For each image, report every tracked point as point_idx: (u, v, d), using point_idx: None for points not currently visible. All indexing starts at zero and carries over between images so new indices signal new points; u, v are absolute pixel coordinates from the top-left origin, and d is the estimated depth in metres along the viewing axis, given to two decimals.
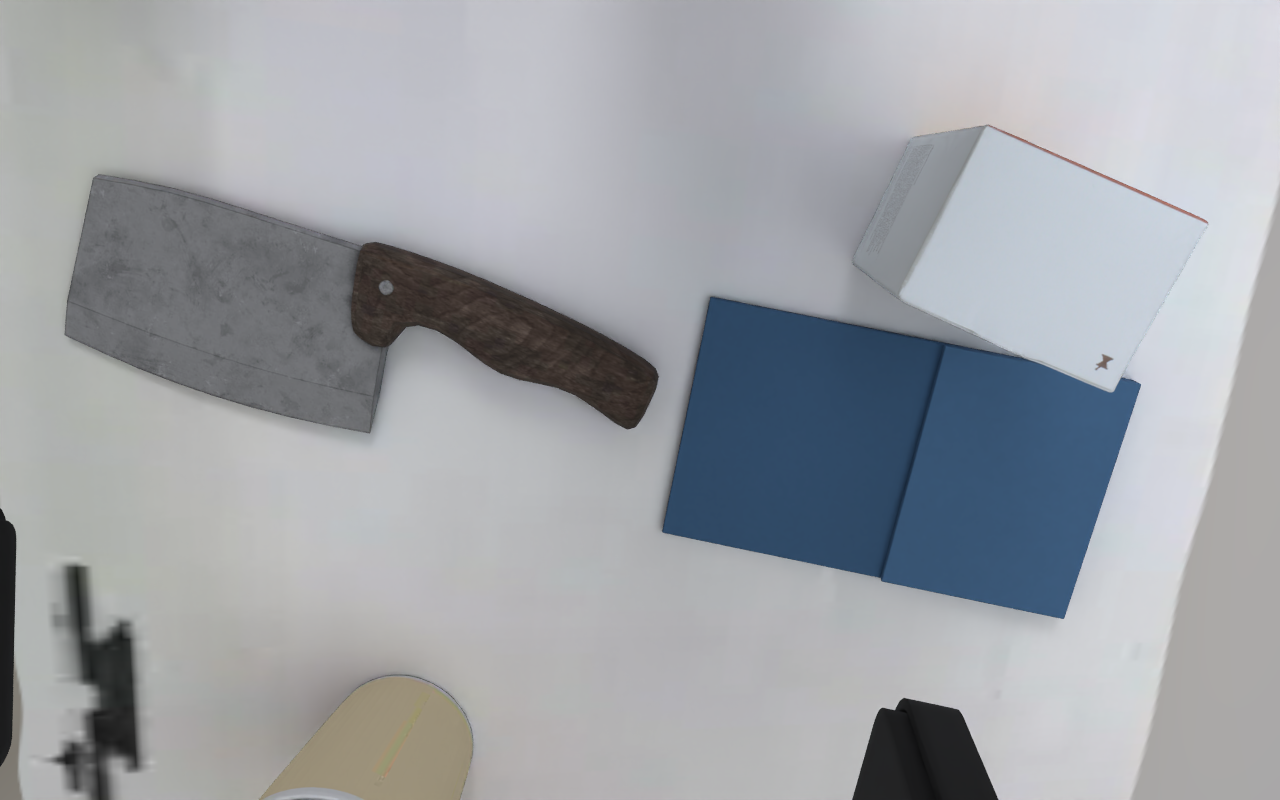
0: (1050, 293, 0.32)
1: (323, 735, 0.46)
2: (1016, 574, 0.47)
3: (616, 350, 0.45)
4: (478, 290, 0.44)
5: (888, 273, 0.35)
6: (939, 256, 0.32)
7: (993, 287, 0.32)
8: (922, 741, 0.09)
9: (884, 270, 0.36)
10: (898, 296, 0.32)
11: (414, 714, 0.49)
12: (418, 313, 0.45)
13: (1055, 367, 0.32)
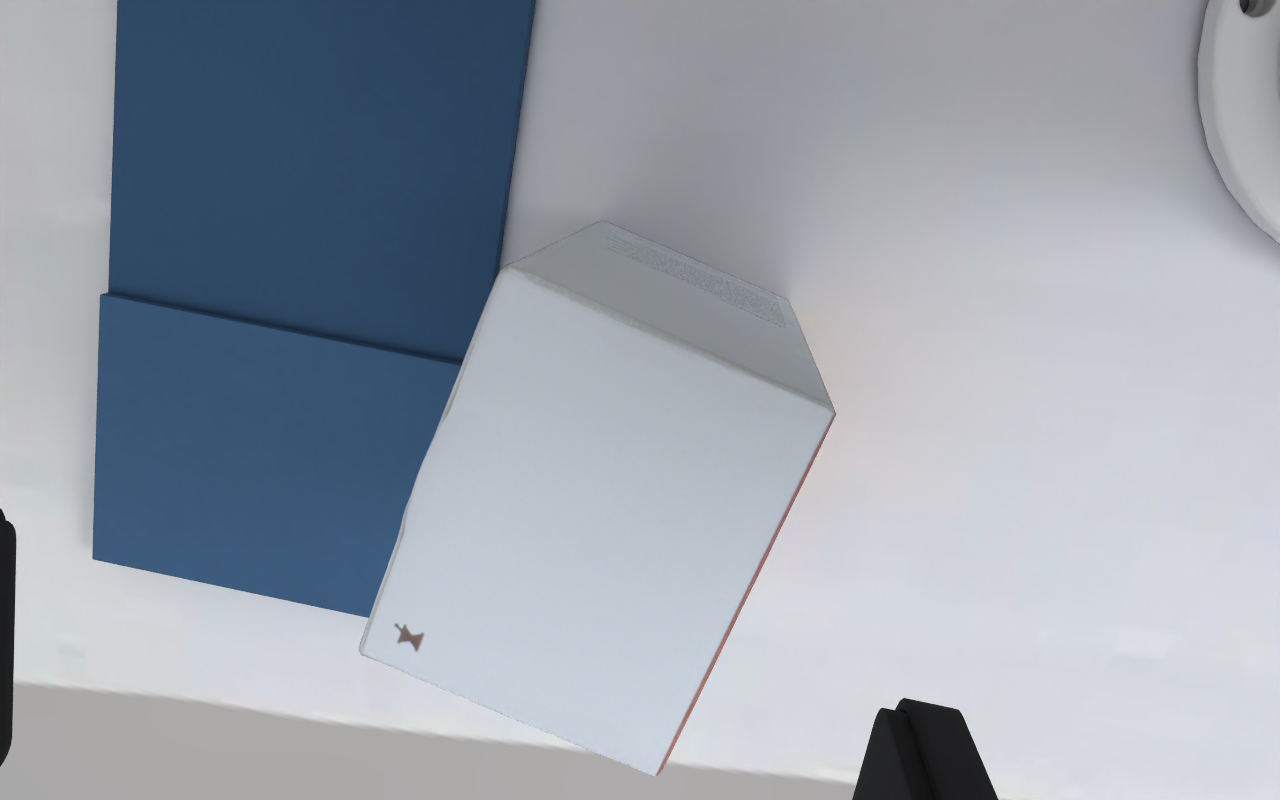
0: (525, 541, 0.17)
1: None
2: (146, 491, 0.31)
3: None
4: None
5: (563, 256, 0.19)
6: (586, 340, 0.16)
7: (532, 443, 0.17)
8: (922, 741, 0.09)
9: (571, 252, 0.20)
10: (506, 267, 0.16)
11: None
12: None
13: (393, 558, 0.18)
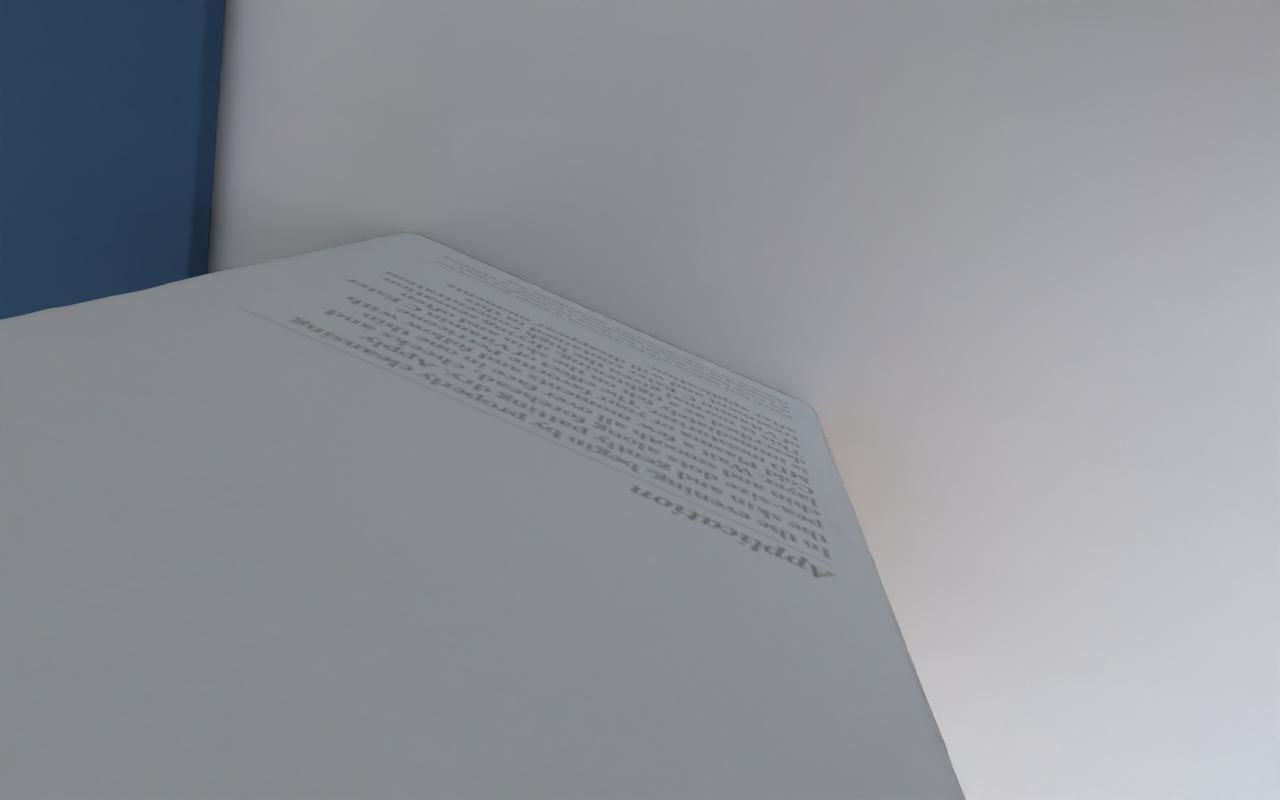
0: None
1: None
2: None
3: None
4: None
5: None
6: None
7: None
8: None
9: None
10: None
11: None
12: None
13: None
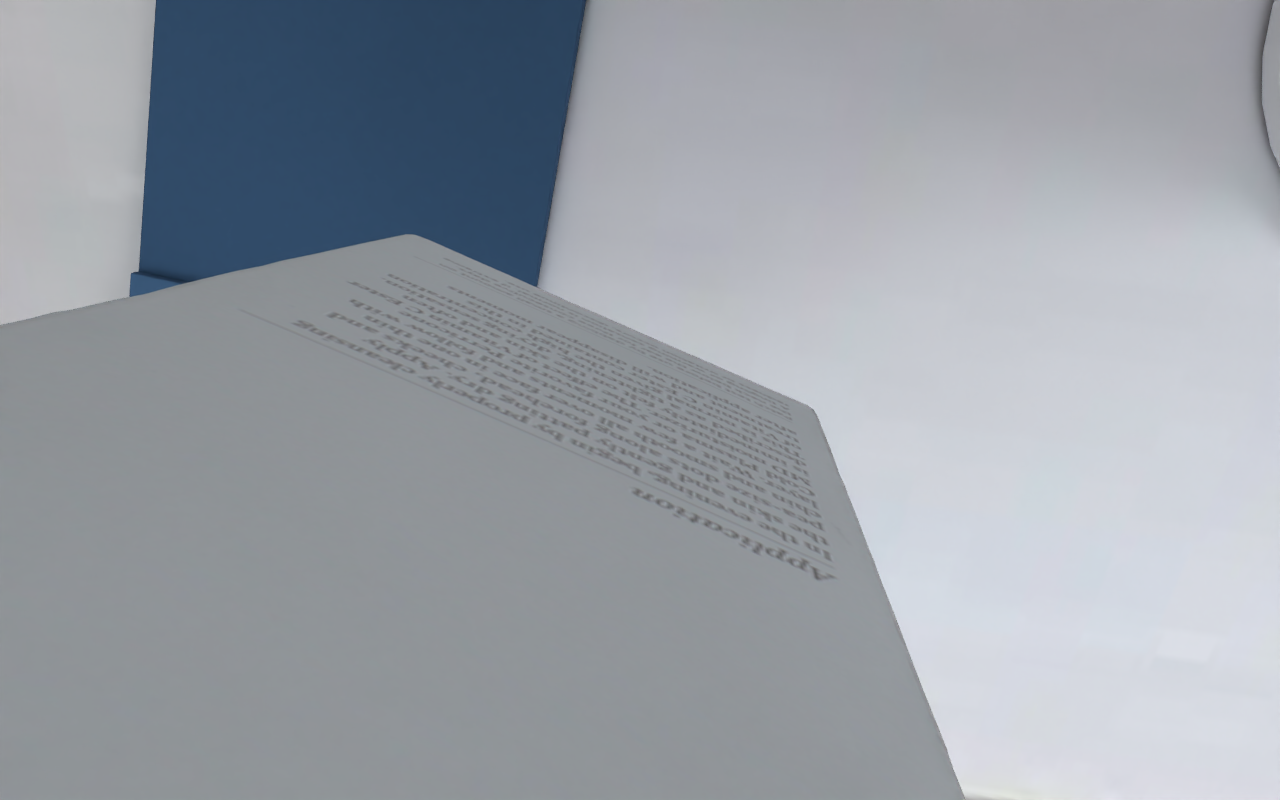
0: None
1: None
2: None
3: None
4: None
5: None
6: None
7: None
8: None
9: None
10: None
11: None
12: None
13: None
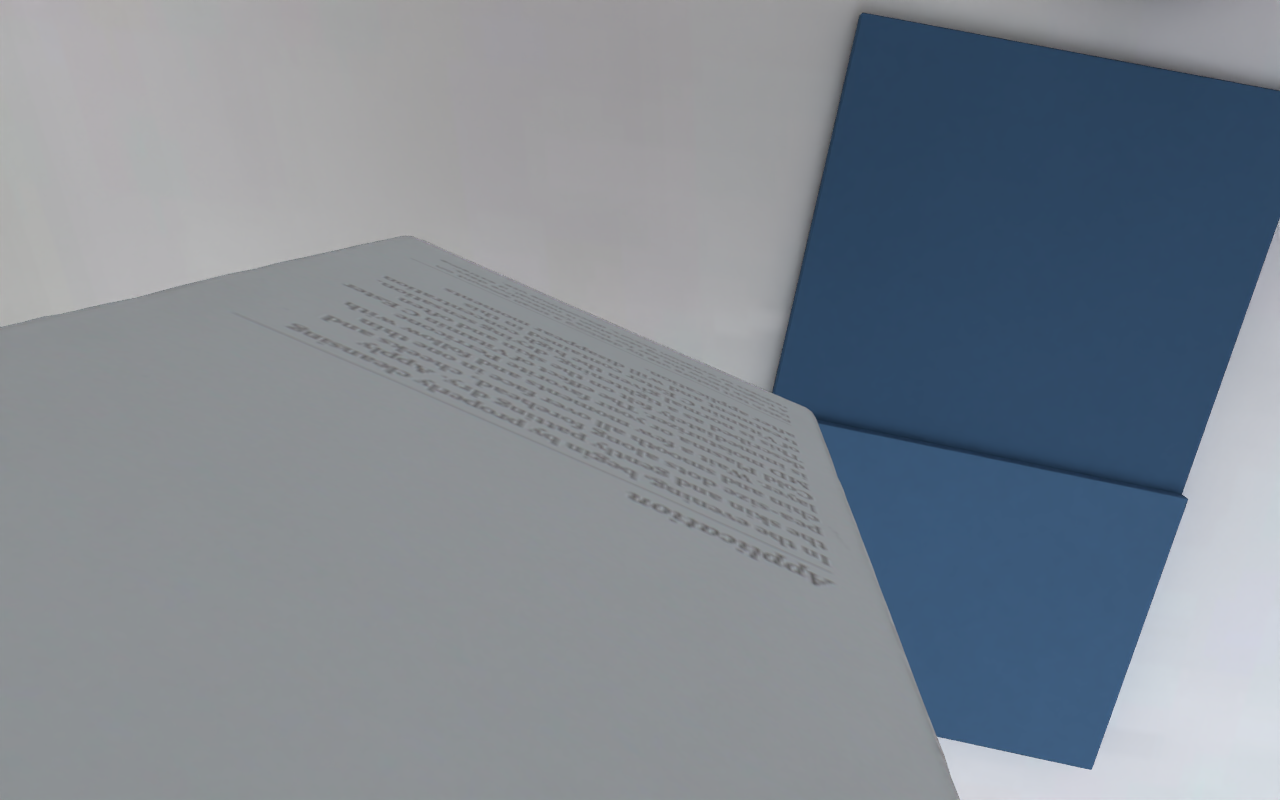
0: None
1: None
2: None
3: None
4: None
5: None
6: None
7: None
8: None
9: None
10: None
11: None
12: None
13: None
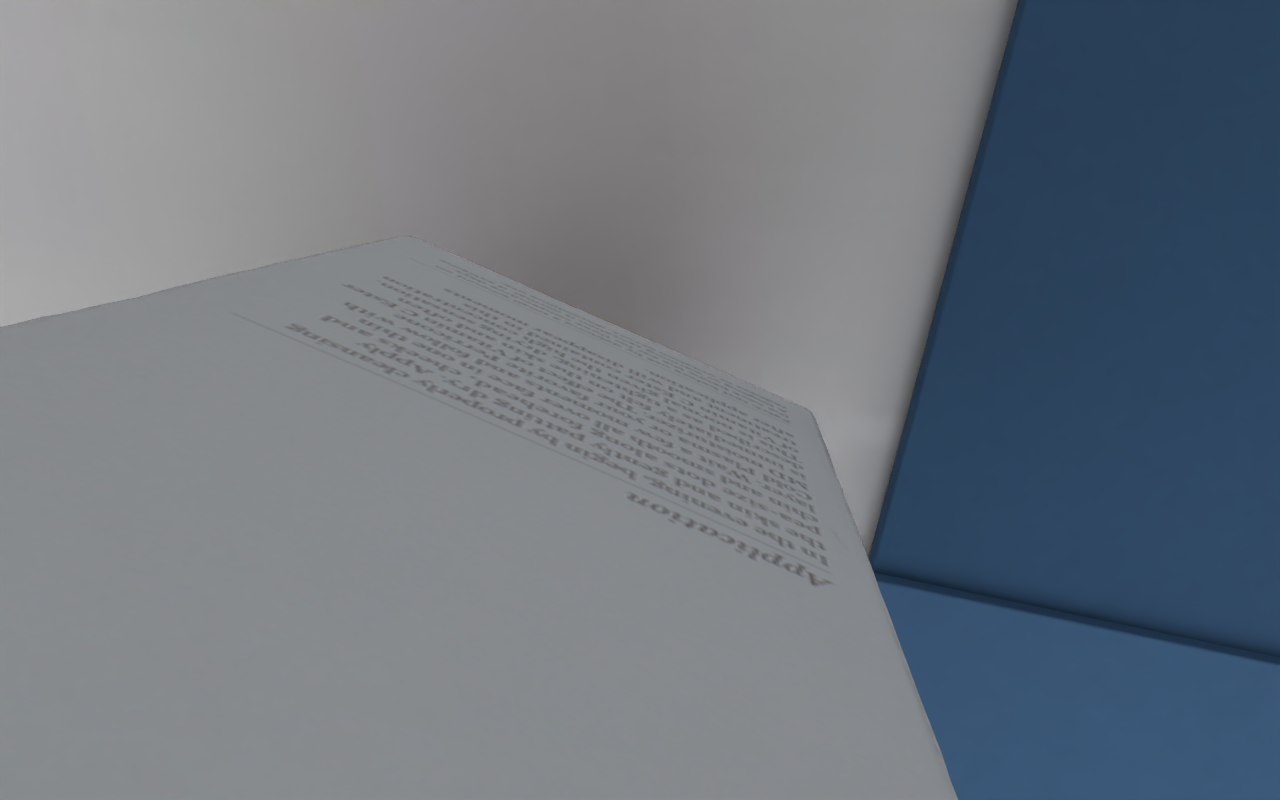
0: None
1: None
2: None
3: None
4: None
5: None
6: None
7: None
8: None
9: None
10: None
11: None
12: None
13: None
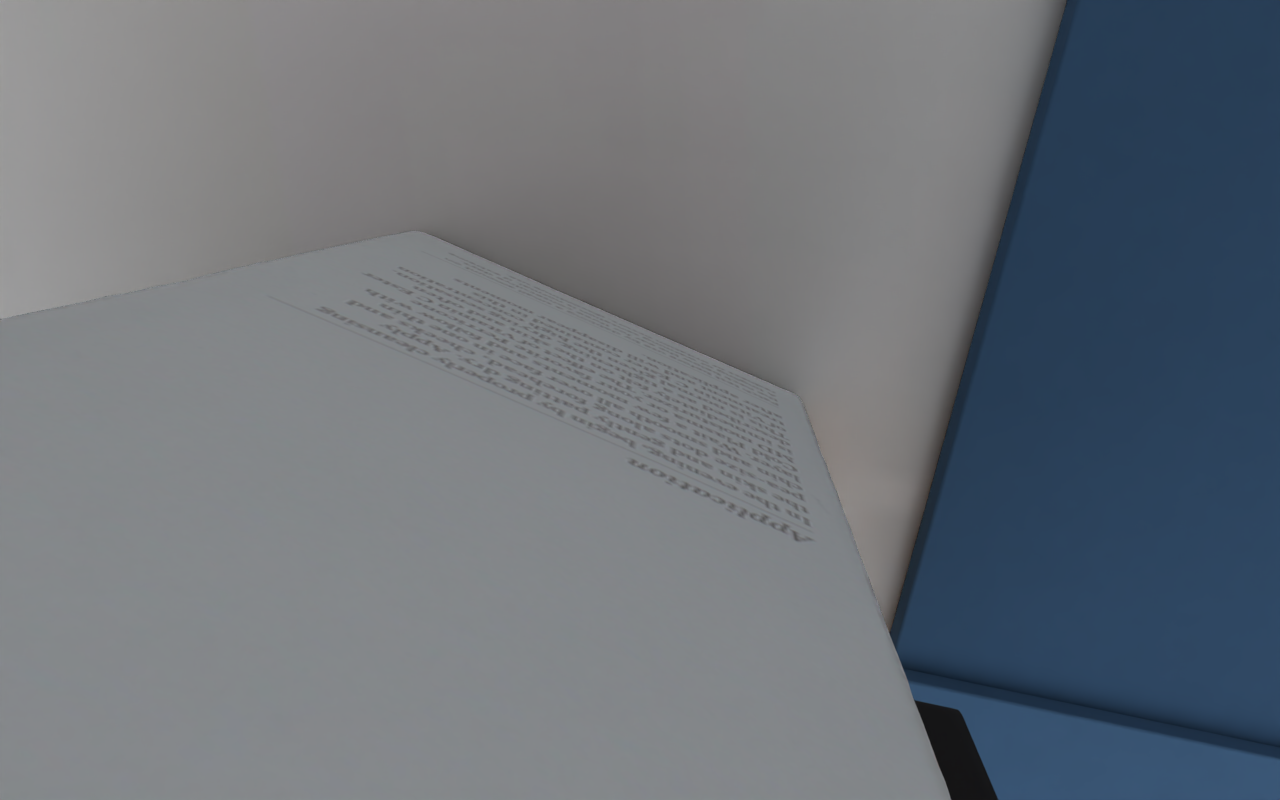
0: None
1: None
2: None
3: None
4: None
5: None
6: None
7: None
8: None
9: (54, 353, 0.05)
10: None
11: None
12: None
13: None
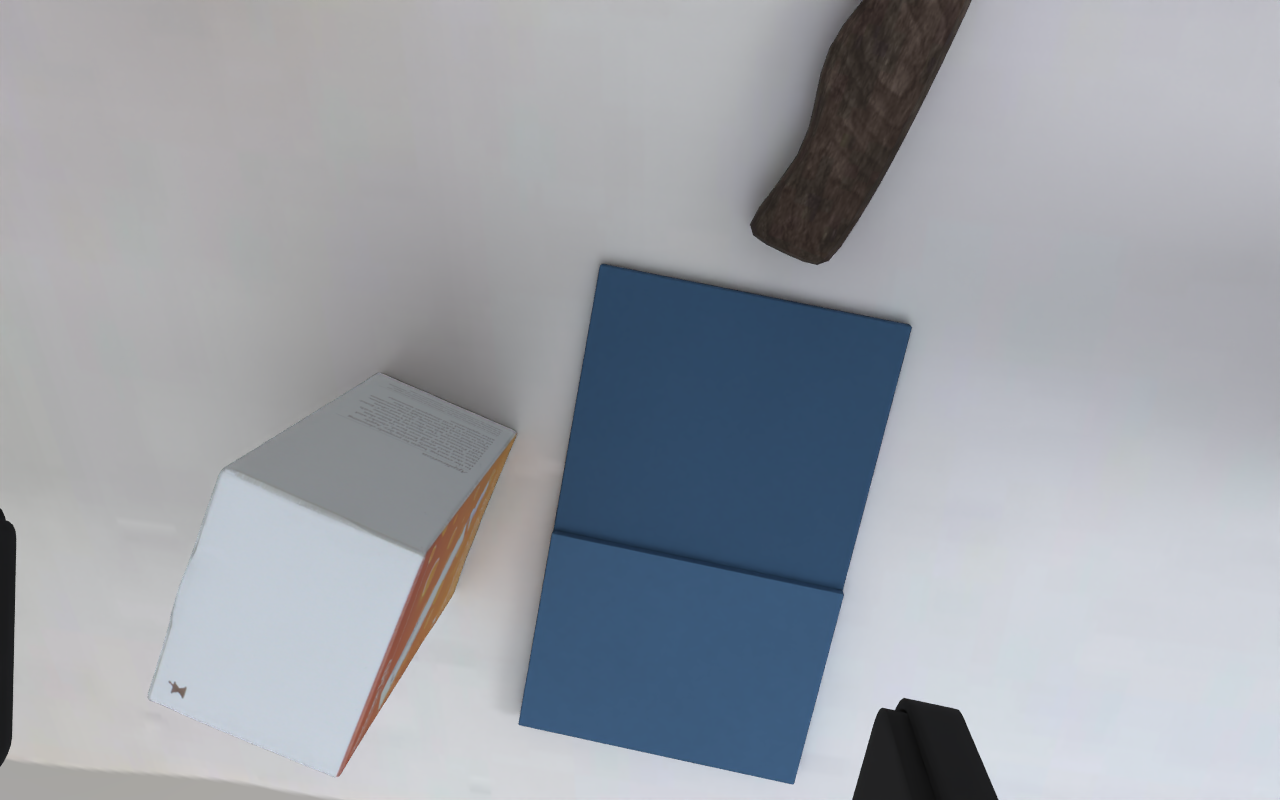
0: (245, 632, 0.28)
1: None
2: (569, 675, 0.41)
3: (860, 212, 0.34)
4: (955, 19, 0.32)
5: (288, 442, 0.30)
6: (273, 512, 0.27)
7: (245, 572, 0.27)
8: (922, 741, 0.09)
9: (302, 433, 0.31)
10: (225, 468, 0.27)
11: None
12: None
13: (166, 640, 0.28)
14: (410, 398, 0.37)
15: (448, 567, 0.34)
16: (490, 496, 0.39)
